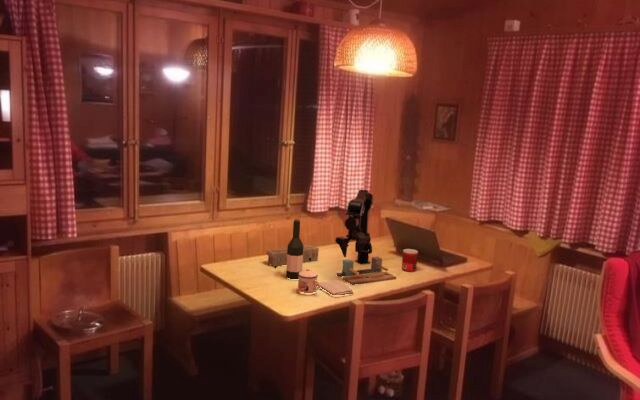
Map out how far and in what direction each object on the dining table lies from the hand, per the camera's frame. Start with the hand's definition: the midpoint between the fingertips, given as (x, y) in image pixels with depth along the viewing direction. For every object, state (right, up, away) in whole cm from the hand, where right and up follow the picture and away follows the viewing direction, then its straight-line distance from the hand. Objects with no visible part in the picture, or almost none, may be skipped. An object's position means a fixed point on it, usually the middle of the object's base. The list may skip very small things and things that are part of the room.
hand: (351, 256), depth 286 cm
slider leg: (0, -11, +6) cm, 13 cm away
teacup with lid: (-21, -15, -19) cm, 33 cm away
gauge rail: (+7, -11, +10) cm, 16 cm away
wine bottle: (-29, -11, +1) cm, 31 cm away
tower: (-31, -6, +26) cm, 41 cm away
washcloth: (-9, -16, -14) cm, 23 cm away
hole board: (+9, -12, +5) cm, 16 cm away
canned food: (+32, -10, +24) cm, 42 cm away
